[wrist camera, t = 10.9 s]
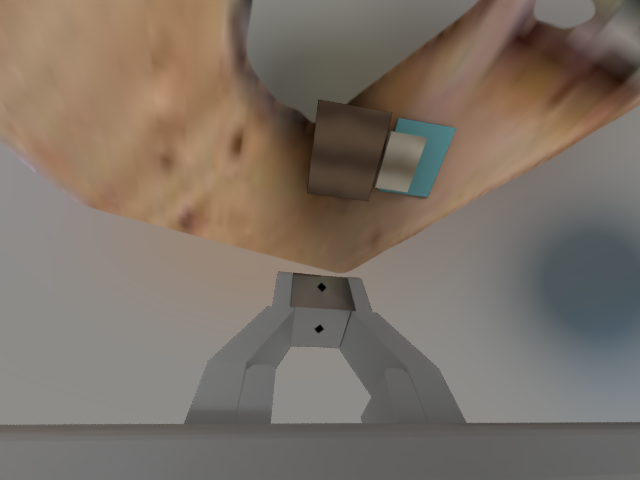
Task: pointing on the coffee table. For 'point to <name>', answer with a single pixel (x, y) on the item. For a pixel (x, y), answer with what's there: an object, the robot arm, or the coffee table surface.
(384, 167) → the birch tile
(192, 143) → the coffee table surface
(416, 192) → the teal mat
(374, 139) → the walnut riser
